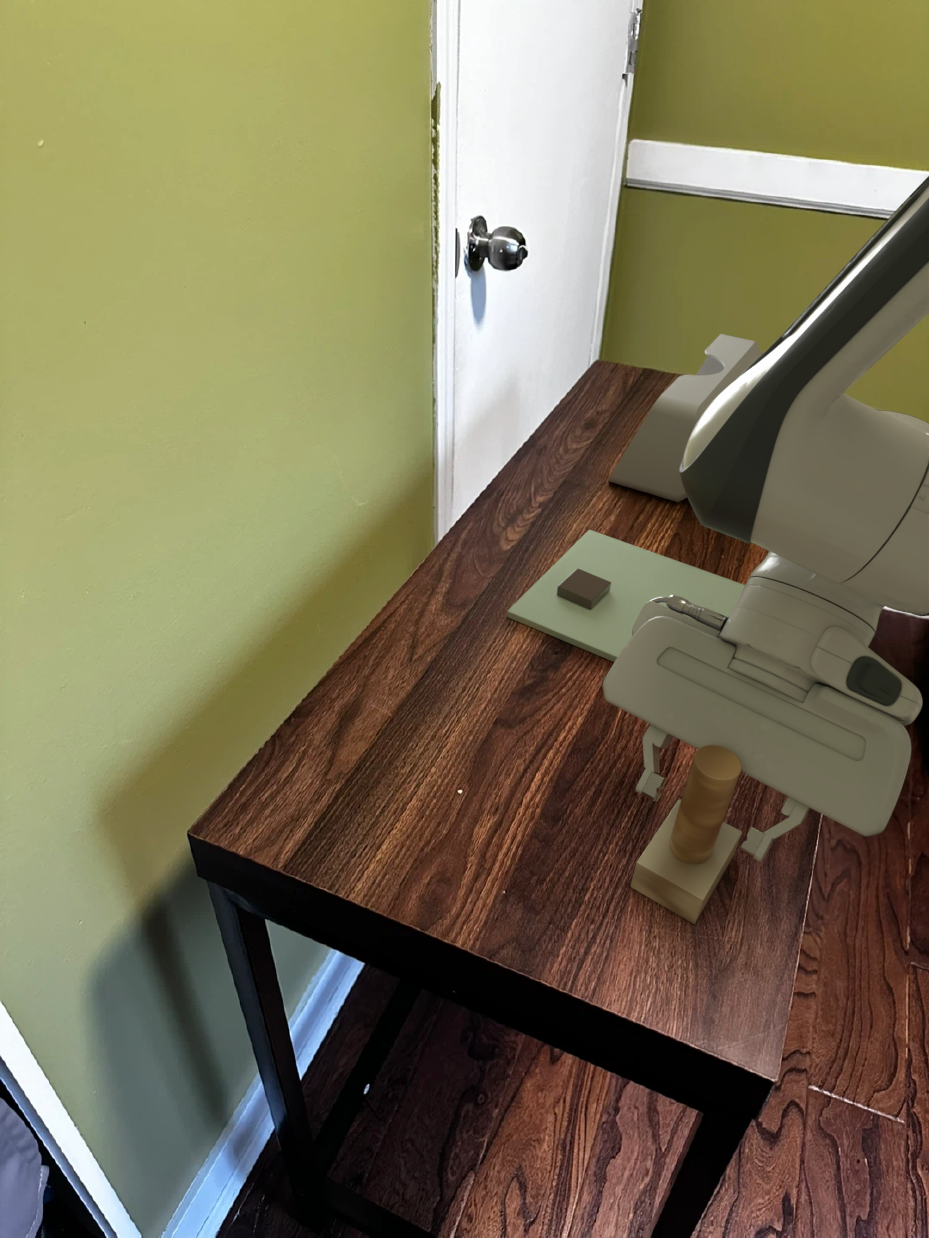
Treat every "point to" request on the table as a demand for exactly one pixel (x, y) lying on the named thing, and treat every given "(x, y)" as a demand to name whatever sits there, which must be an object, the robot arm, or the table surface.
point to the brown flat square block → (583, 588)
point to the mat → (616, 593)
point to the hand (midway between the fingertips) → (696, 825)
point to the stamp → (693, 838)
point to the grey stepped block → (680, 420)
